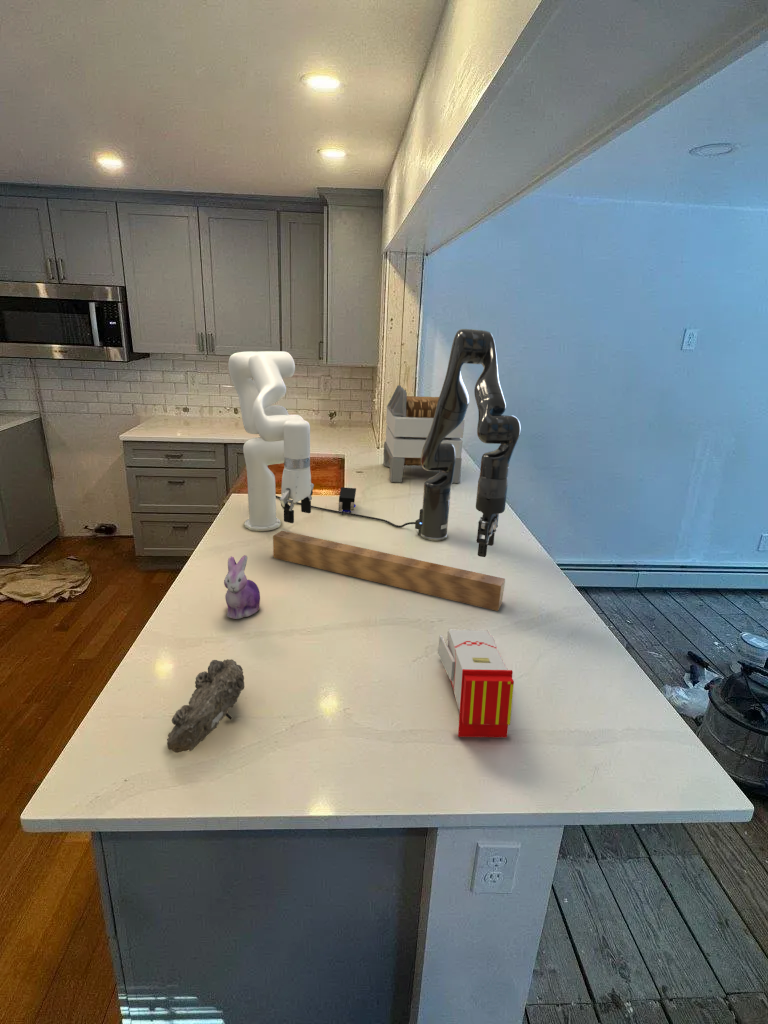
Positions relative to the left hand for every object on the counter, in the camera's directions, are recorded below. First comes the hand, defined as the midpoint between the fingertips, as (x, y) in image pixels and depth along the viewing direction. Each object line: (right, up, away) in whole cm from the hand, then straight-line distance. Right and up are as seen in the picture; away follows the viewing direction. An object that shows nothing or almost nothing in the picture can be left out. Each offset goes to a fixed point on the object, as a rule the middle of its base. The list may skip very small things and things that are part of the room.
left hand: (297, 517), depth 171 cm
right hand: (+53, -9, -20) cm, 58 cm away
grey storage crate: (+43, +20, +104) cm, 114 cm away
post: (+25, -18, -5) cm, 31 cm away
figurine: (-10, -24, -26) cm, 37 cm away
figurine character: (+12, +2, +49) cm, 50 cm away
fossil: (-7, -38, -63) cm, 74 cm away
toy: (+44, -36, -53) cm, 78 cm away
